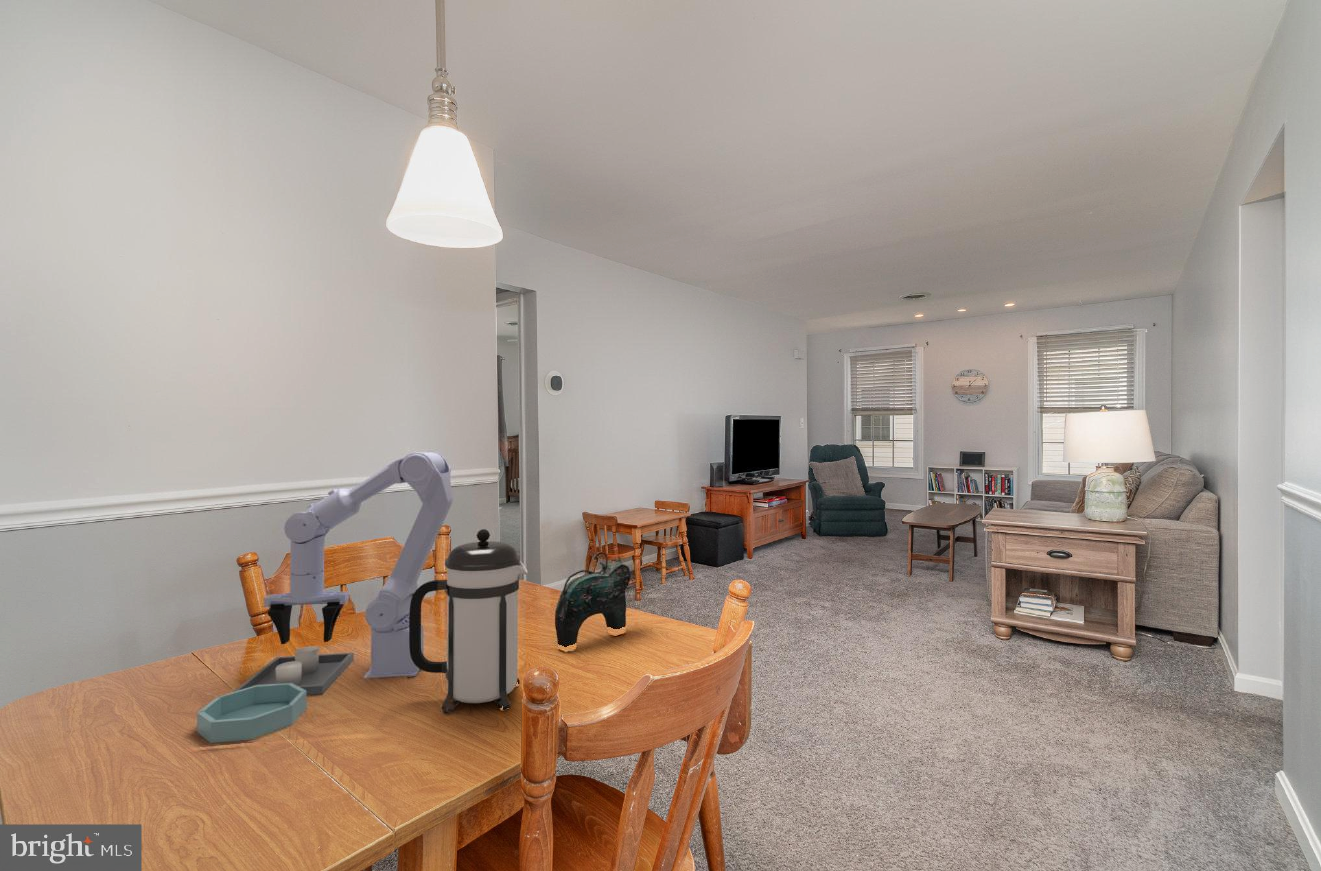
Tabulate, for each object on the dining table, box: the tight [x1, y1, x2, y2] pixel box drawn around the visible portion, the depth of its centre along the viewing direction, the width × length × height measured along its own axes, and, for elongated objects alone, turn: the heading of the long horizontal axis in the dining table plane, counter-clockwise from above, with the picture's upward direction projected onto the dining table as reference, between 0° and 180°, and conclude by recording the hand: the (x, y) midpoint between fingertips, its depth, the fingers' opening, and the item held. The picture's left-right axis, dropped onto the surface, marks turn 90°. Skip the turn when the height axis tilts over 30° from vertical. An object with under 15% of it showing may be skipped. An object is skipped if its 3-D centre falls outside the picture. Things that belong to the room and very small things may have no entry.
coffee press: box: [409, 528, 529, 714], centre depth 103 cm, size 17×16×30 cm
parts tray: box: [232, 652, 355, 696], centre depth 110 cm, size 14×16×2 cm
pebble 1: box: [276, 661, 302, 686], centre depth 107 cm, size 4×4×4 cm
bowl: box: [196, 683, 308, 747], centre depth 94 cm, size 13×13×4 cm
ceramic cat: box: [554, 551, 631, 647], centre depth 133 cm, size 20×6×20 cm, turn 136°
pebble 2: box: [294, 645, 320, 674], centre depth 114 cm, size 4×4×4 cm
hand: (306, 641), depth 114 cm, fingers open, 7 cm apart
